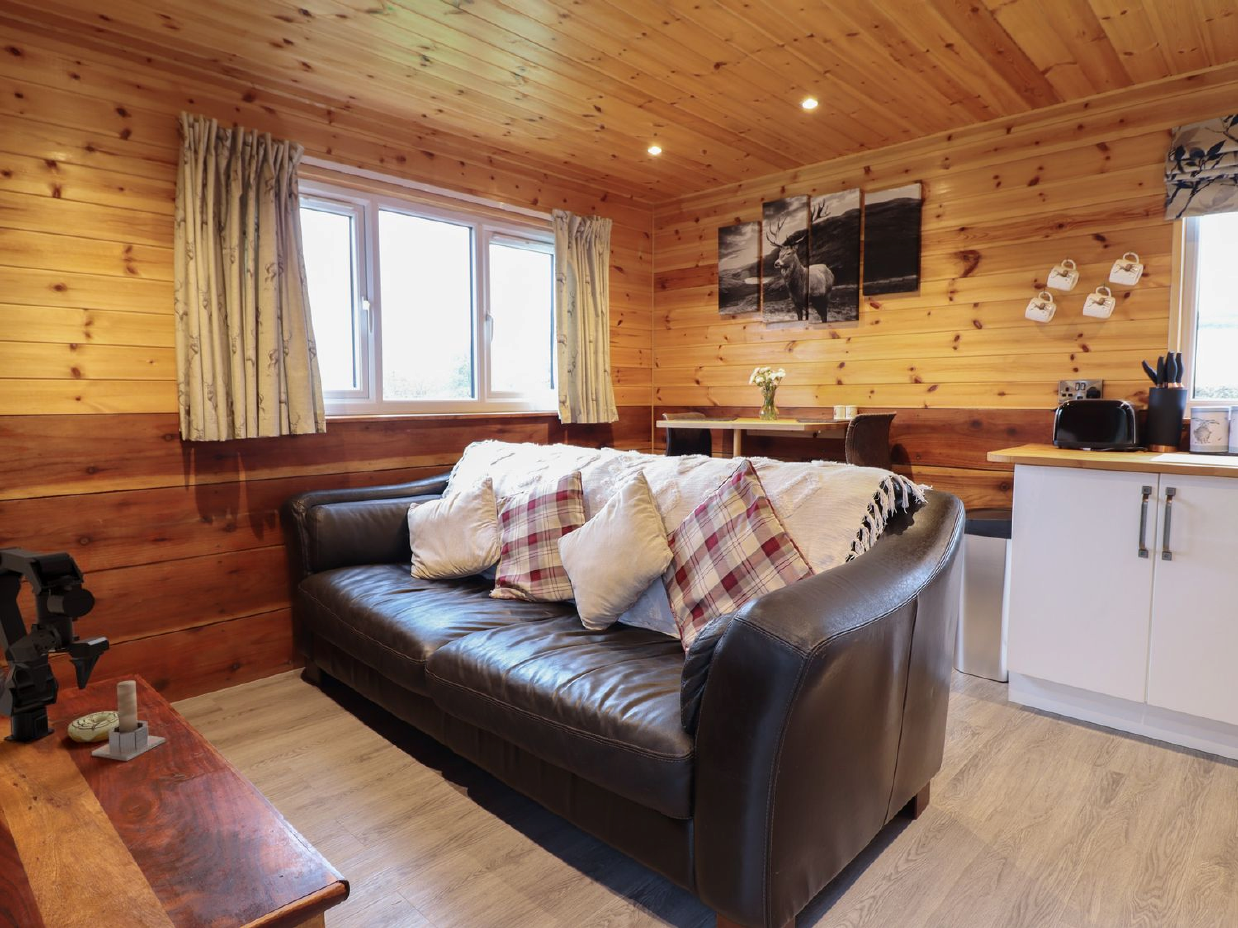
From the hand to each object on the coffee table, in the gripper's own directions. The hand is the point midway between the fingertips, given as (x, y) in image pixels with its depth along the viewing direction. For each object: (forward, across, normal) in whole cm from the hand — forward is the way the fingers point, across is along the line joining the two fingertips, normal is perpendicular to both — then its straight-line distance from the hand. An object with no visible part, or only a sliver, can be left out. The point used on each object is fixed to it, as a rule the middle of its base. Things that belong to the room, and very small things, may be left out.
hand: (61, 690), depth 149 cm
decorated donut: (+13, -1, +9) cm, 16 cm away
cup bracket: (+14, +11, +4) cm, 18 cm away
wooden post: (+13, +11, +4) cm, 17 cm away
